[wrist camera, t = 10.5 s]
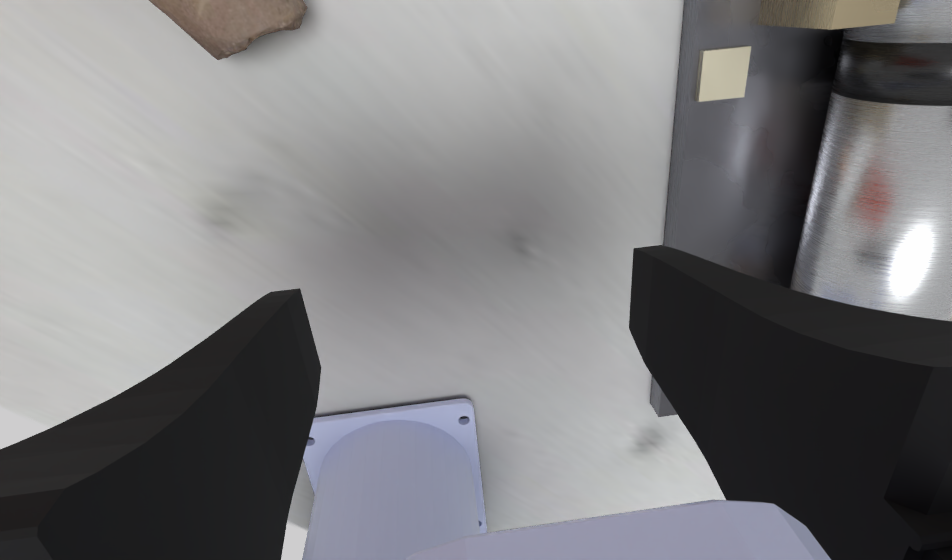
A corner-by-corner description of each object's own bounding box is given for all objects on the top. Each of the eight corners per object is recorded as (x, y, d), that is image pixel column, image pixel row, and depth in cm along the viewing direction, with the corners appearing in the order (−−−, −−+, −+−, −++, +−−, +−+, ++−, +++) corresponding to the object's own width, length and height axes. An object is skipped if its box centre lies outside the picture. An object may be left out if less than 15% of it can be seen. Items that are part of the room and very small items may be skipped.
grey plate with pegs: (925, 365, 27) (1014, 428, 23) (650, 402, 26) (693, 475, 22) (1141, -215, 17) (1371, -283, 13) (700, -180, 16) (796, -241, 12)
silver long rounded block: (866, 380, 25) (943, 474, 20) (749, 379, 25) (797, 470, 21) (1043, -181, 15) (1269, -258, 11) (851, -158, 16) (981, -220, 11)
